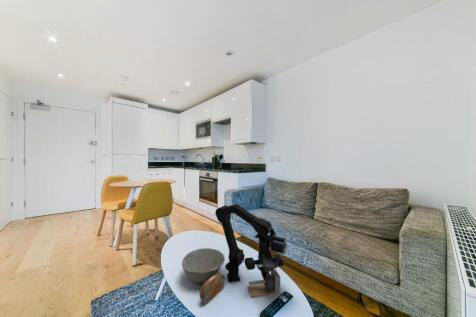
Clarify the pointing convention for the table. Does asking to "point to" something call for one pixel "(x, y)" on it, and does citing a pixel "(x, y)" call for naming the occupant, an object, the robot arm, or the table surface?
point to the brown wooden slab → (212, 287)
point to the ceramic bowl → (202, 264)
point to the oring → (269, 282)
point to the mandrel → (261, 289)
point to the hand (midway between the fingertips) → (263, 278)
